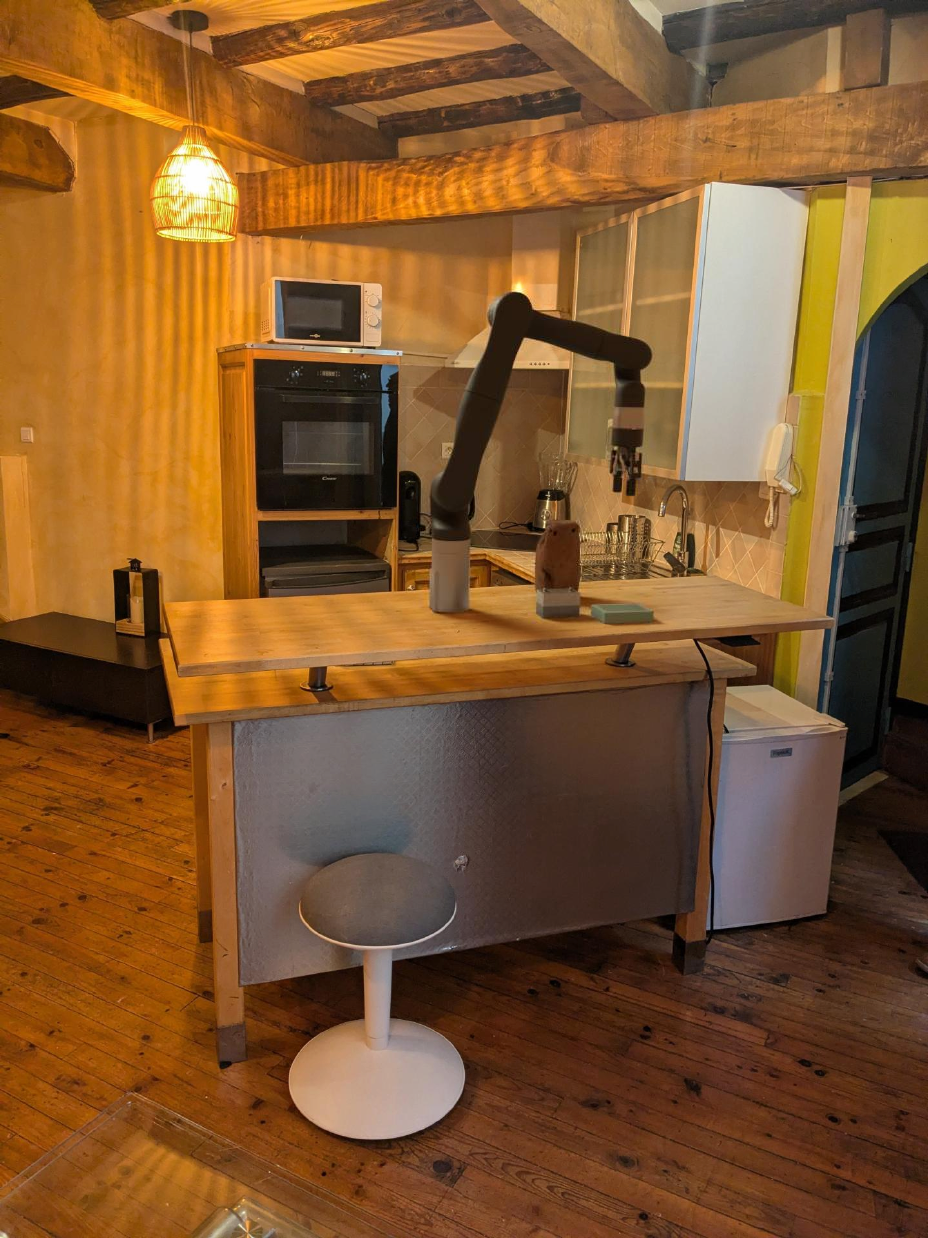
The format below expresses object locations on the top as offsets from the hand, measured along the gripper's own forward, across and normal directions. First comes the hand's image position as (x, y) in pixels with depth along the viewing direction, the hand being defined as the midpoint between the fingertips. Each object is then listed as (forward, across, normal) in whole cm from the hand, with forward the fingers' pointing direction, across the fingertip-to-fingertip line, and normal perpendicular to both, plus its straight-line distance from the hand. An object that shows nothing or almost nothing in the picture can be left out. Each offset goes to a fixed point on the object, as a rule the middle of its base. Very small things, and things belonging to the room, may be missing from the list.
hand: (623, 494), depth 232 cm
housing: (+28, +9, -18) cm, 35 cm away
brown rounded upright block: (+28, -11, -12) cm, 32 cm away
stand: (+28, +15, -4) cm, 32 cm away
